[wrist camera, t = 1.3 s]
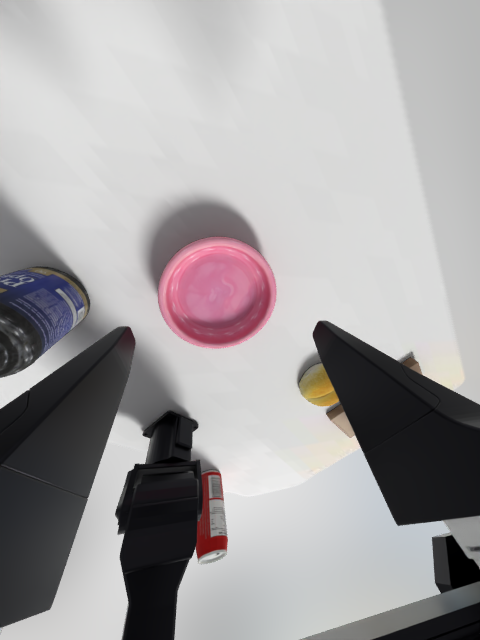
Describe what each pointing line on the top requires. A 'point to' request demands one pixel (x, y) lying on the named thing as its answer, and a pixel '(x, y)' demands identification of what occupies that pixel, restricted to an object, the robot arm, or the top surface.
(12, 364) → the pill bottle
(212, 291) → the saucer
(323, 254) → the top surface
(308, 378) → the bread roll
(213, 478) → the soda can
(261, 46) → the top surface
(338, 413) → the walnut chopping board
